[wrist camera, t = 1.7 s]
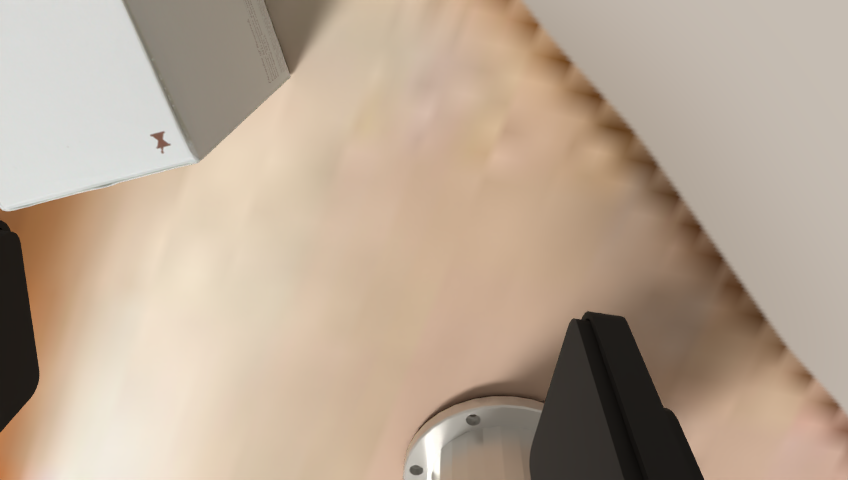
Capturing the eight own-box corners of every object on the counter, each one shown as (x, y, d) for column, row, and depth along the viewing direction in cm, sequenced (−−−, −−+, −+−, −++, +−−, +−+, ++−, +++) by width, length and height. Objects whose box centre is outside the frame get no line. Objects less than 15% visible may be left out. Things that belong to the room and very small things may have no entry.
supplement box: (237, -86, 28) (94, -87, 17) (294, 79, 31) (204, 170, 20) (88, -40, 29) (-141, -13, 18) (157, 115, 33) (-1, 220, 21)
